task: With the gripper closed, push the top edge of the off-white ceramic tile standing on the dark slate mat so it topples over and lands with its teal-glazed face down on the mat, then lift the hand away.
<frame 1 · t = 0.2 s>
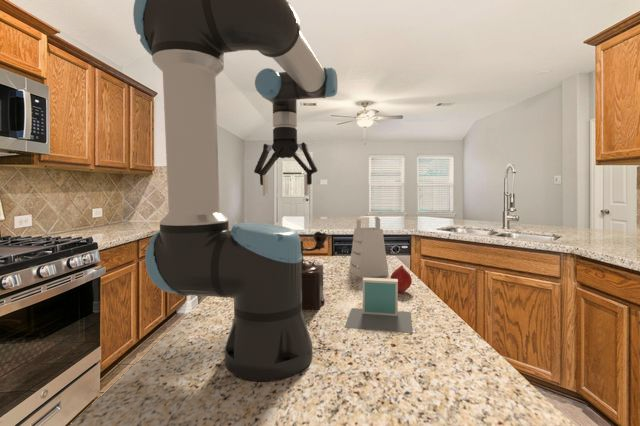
hand: (285, 195, 108), 28 cm above the countertop, tool pointing down, fingers open, 13 cm apart
tile: (380, 312, 79), resting on mat
grater: (368, 273, 120), on the countertop
manual coffee grinder: (305, 301, 90), on the countertop
onion: (400, 293, 96), on the countertop
mat: (379, 320, 76), on the countertop
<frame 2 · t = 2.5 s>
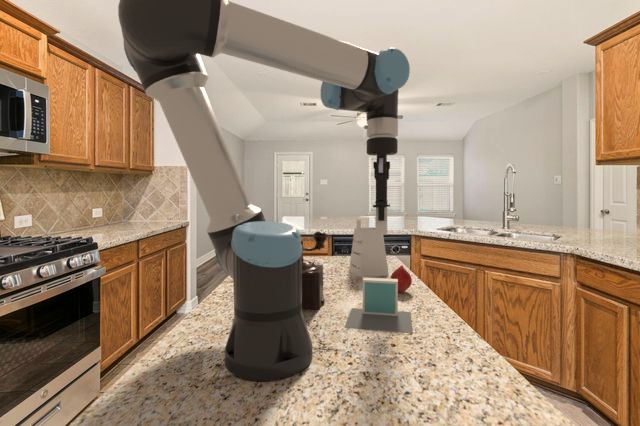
hand: (381, 233, 85), 18 cm above the countertop, tool pointing down, fingers closed
nothing on the countertop moved.
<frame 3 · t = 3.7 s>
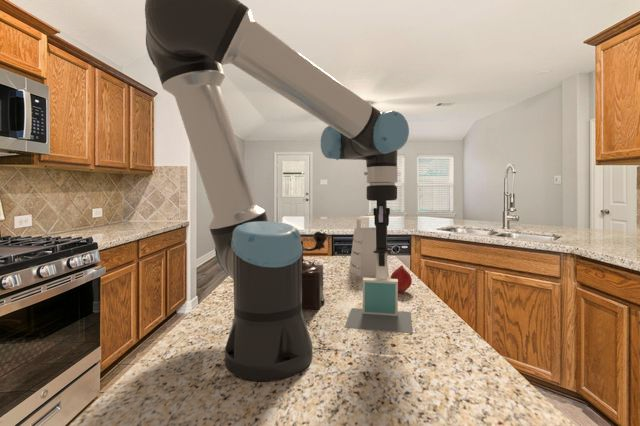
hand: (381, 277, 85), 7 cm above the countertop, tool pointing down, fingers closed
nothing on the countertop moved.
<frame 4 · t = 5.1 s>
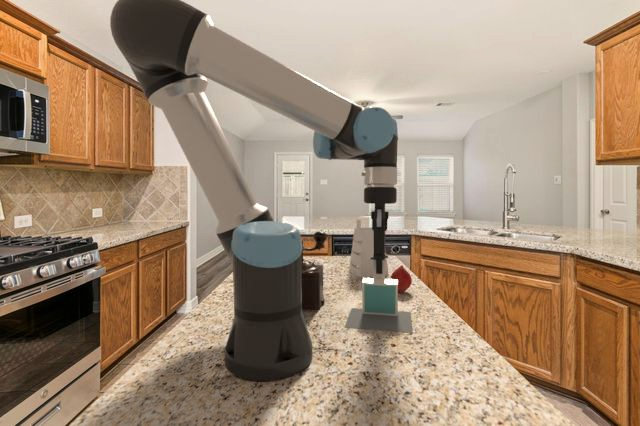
hand: (379, 286, 80), 7 cm above the countertop, tool pointing down, fingers closed
tile: (380, 312, 79), point 1 cm above the countertop, tilted 11°, touching mat
everything else where it was.
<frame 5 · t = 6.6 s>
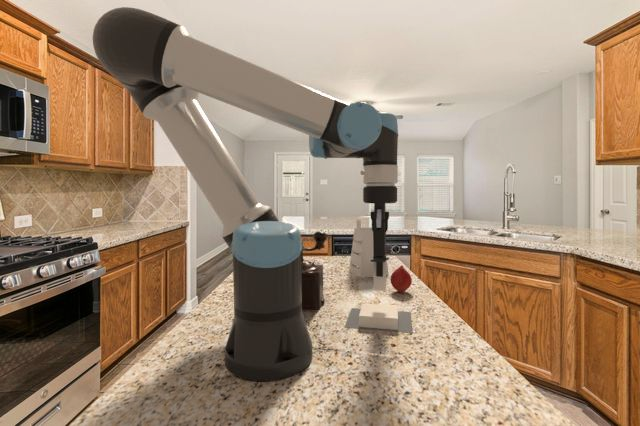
hand: (379, 289, 77), 7 cm above the countertop, tool pointing down, fingers closed
tile: (379, 309, 78), point 2 cm above the countertop, tilted 90°, touching mat
everything else where it was.
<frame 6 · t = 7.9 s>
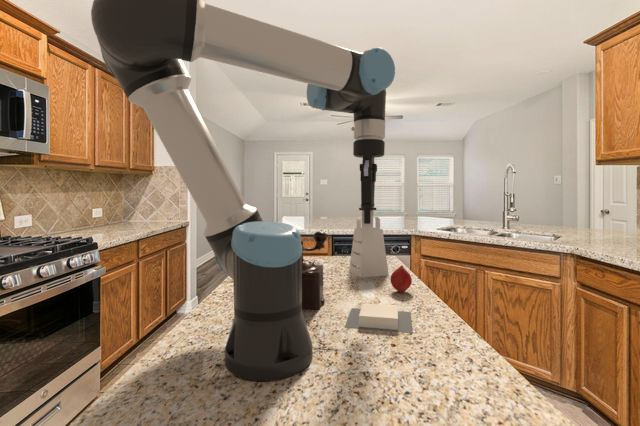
hand: (367, 236, 83), 18 cm above the countertop, tool pointing down, fingers closed
nothing on the countertop moved.
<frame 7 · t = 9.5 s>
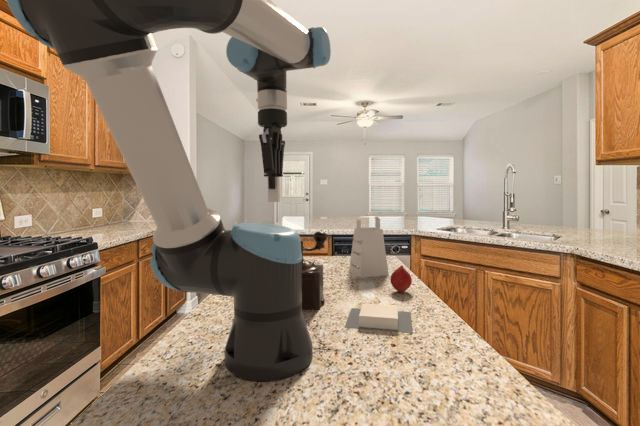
hand: (274, 201, 89), 26 cm above the countertop, tool pointing down, fingers closed
nothing on the countertop moved.
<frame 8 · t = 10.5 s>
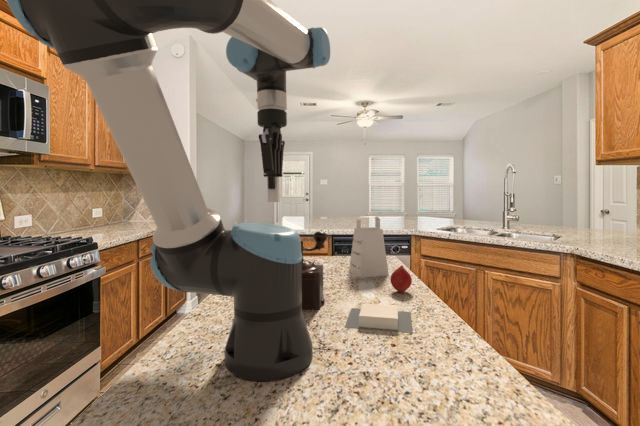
hand: (273, 201, 89), 26 cm above the countertop, tool pointing down, fingers closed
nothing on the countertop moved.
at the end: tile tilted 90°; tile inside the target area (3.3 cm from its centre), point 1.5 cm above the countertop; the gripper is holding nothing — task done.
